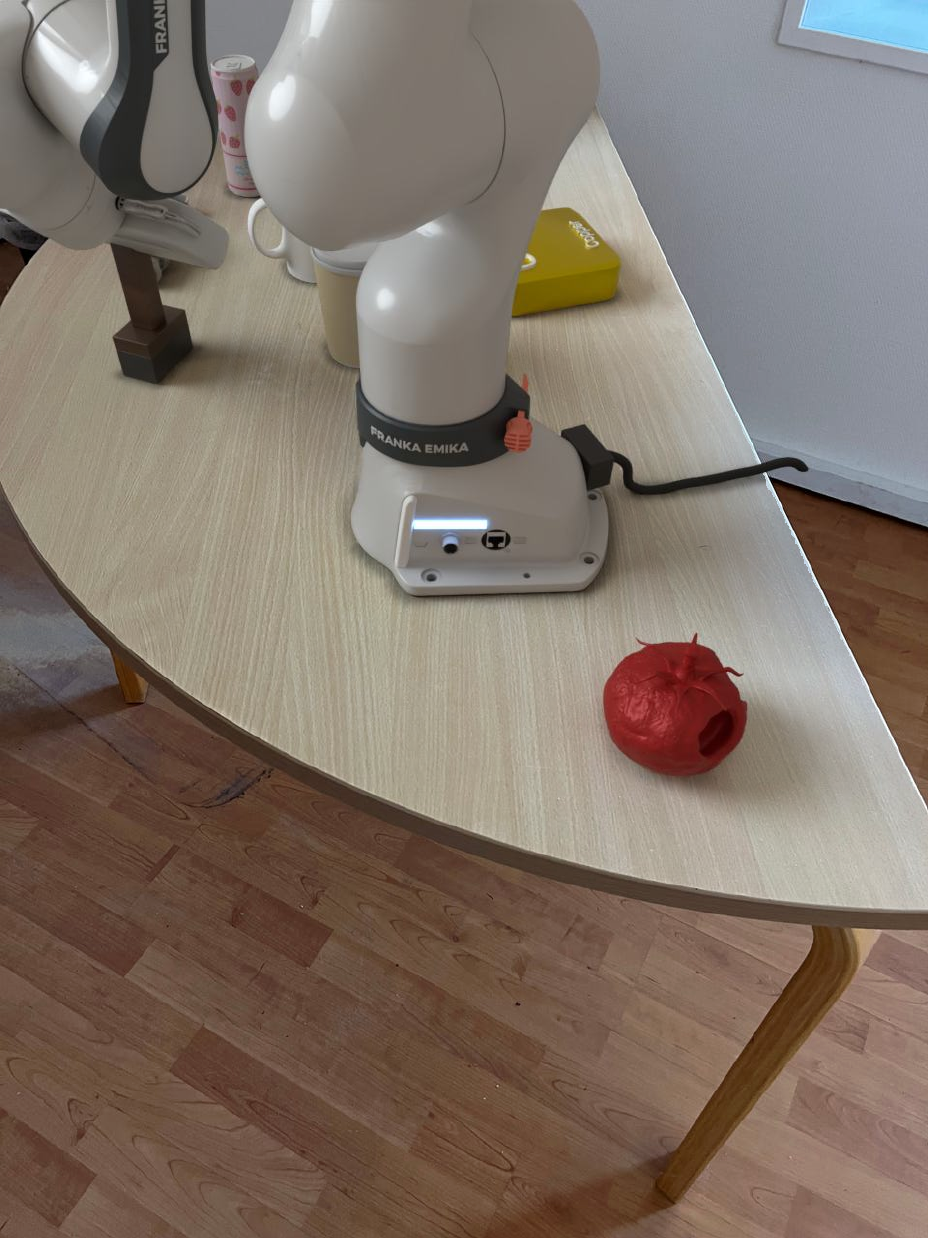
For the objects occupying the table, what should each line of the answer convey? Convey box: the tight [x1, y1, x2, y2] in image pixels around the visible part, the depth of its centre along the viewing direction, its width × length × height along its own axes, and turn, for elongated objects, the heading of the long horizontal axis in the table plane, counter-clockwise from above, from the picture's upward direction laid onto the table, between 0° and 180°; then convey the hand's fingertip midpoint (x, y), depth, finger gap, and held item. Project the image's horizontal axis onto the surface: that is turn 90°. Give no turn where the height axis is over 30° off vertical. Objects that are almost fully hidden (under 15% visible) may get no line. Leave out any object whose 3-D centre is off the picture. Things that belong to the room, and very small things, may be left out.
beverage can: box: [210, 54, 261, 198], centre depth 116 cm, size 6×6×15 cm
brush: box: [109, 243, 194, 385], centre depth 91 cm, size 7×4×14 cm, turn 160°
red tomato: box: [602, 632, 748, 777], centre depth 64 cm, size 10×10×9 cm
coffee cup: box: [311, 243, 379, 370], centre depth 94 cm, size 9×9×12 cm
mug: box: [247, 197, 317, 284], centre depth 105 cm, size 12×8×10 cm
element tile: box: [512, 206, 622, 317], centre depth 107 cm, size 15×15×5 cm
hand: (165, 250), depth 91 cm, fingers open, 8 cm apart
